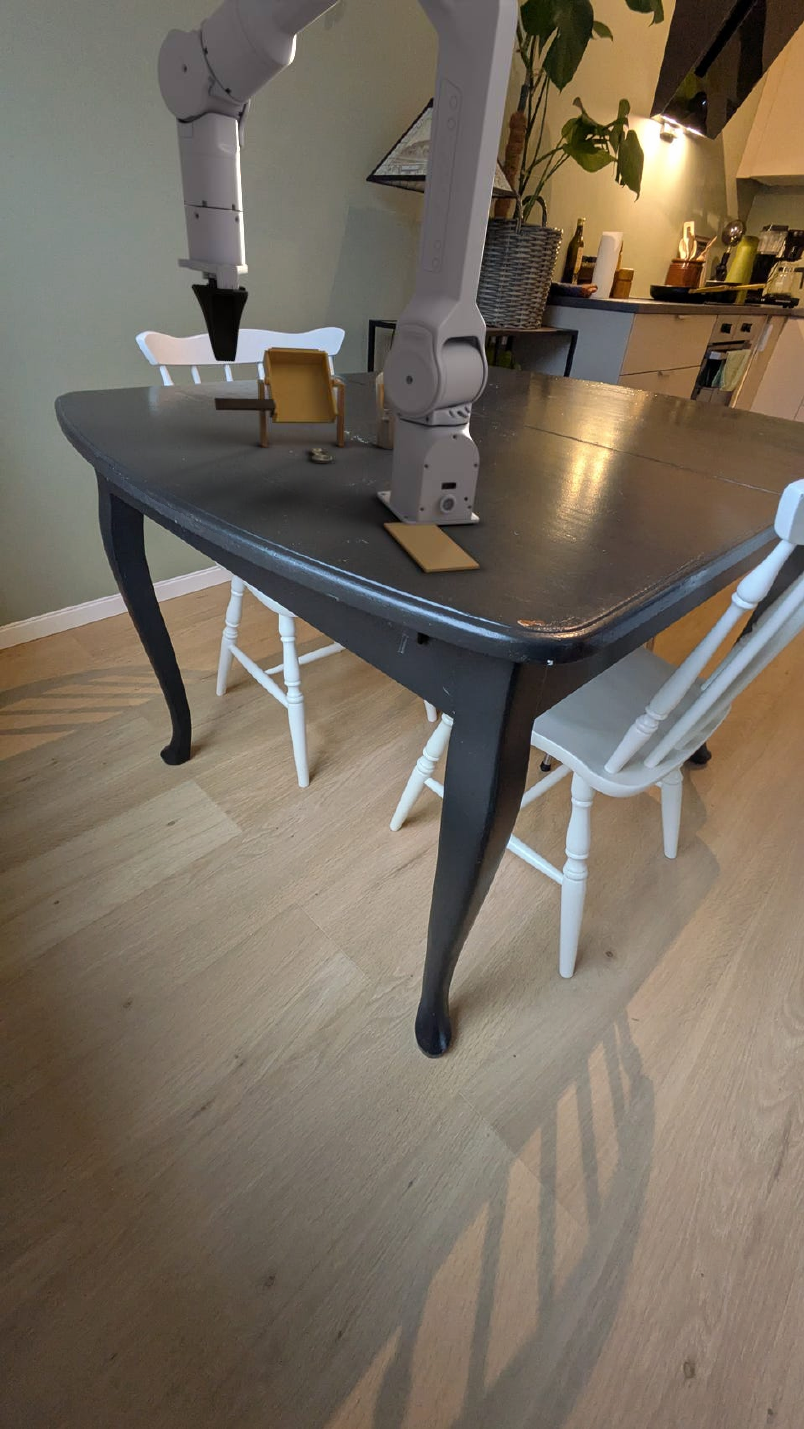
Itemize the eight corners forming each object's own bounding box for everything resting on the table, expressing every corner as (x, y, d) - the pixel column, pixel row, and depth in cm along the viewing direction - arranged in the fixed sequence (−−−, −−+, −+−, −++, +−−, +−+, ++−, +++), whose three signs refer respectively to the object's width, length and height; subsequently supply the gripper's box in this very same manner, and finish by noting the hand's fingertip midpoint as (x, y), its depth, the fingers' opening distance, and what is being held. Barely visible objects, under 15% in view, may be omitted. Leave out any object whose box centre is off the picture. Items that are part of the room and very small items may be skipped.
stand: (343, 446, 84) (345, 384, 80) (262, 447, 81) (259, 382, 76) (340, 443, 85) (341, 381, 81) (260, 443, 82) (257, 379, 78)
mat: (478, 568, 55) (479, 565, 55) (426, 572, 53) (426, 569, 53) (430, 523, 63) (431, 520, 63) (383, 526, 61) (383, 523, 61)
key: (321, 448, 81) (321, 451, 81) (303, 448, 80) (303, 452, 80) (334, 459, 77) (333, 463, 77) (315, 460, 76) (315, 463, 77)
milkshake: (407, 442, 89) (414, 362, 83) (403, 452, 84) (410, 368, 78) (375, 439, 89) (379, 358, 83) (370, 448, 85) (374, 364, 79)
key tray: (338, 423, 82) (343, 410, 79) (215, 422, 77) (216, 409, 74) (327, 359, 83) (332, 344, 80) (204, 354, 78) (205, 338, 75)
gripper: (167, 206, 68) (182, 349, 76) (178, 203, 58) (195, 370, 66) (233, 213, 71) (242, 351, 79) (256, 212, 60) (263, 372, 68)
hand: (225, 360), depth 72 cm, fingers closed
